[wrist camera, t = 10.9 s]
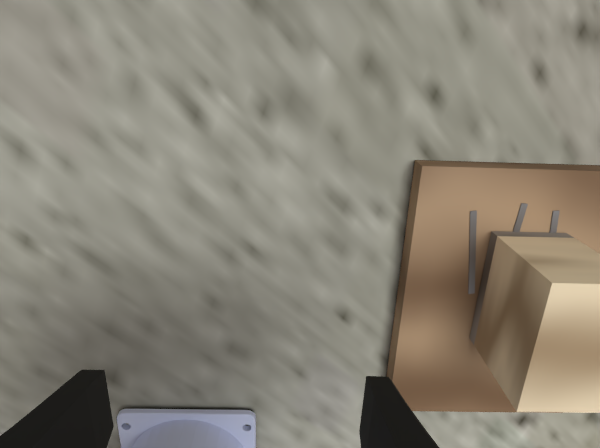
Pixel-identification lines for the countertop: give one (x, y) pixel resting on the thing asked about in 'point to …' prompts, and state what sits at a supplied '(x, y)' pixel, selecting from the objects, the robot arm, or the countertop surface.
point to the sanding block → (541, 321)
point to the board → (471, 267)
